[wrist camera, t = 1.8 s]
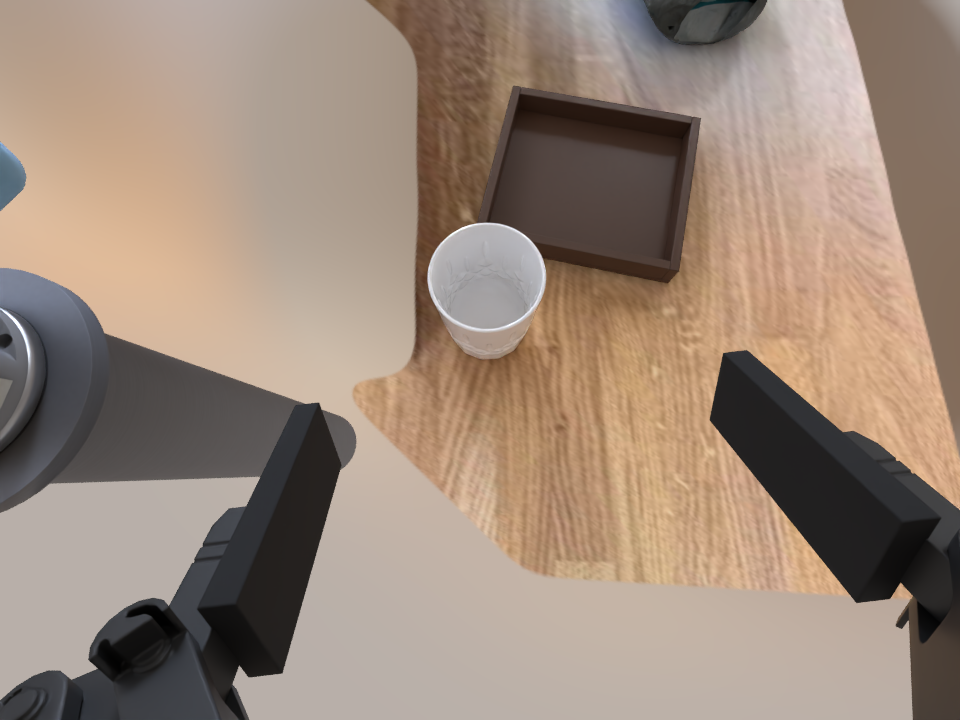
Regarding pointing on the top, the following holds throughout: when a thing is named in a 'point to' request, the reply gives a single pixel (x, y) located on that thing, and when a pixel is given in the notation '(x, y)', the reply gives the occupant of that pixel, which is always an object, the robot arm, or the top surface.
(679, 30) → the grey hollow crumpled part
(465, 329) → the white cup
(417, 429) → the top surface
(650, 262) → the serving tray
